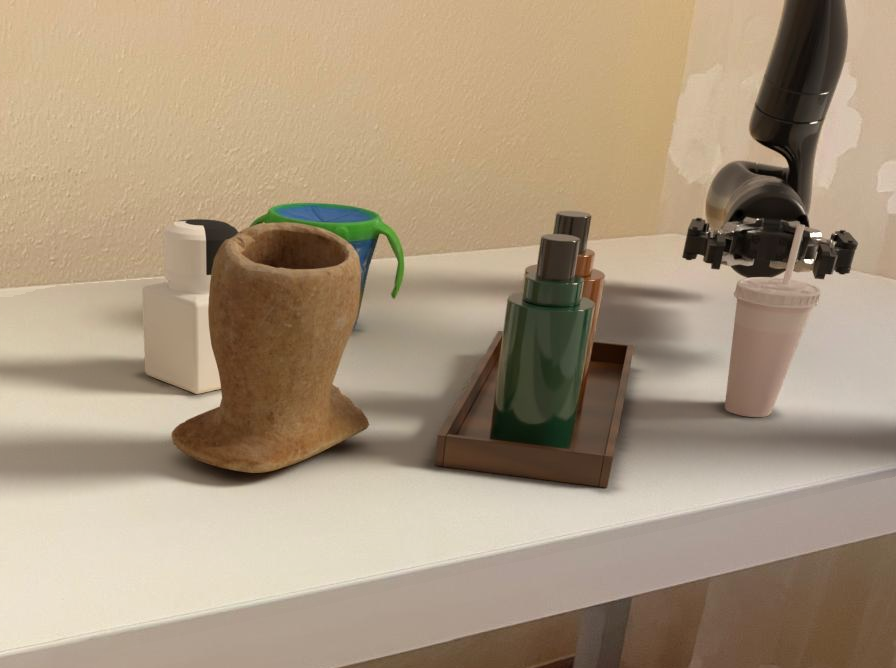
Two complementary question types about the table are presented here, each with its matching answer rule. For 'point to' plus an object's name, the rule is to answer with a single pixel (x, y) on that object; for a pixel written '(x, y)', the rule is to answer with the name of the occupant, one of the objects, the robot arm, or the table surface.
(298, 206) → the snack cup
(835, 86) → the robot arm
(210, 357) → the medicine bottle
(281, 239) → the stone cup
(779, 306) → the smoothie
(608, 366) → the tray
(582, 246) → the amber bottle
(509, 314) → the green bottle
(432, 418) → the table surface
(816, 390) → the table surface
